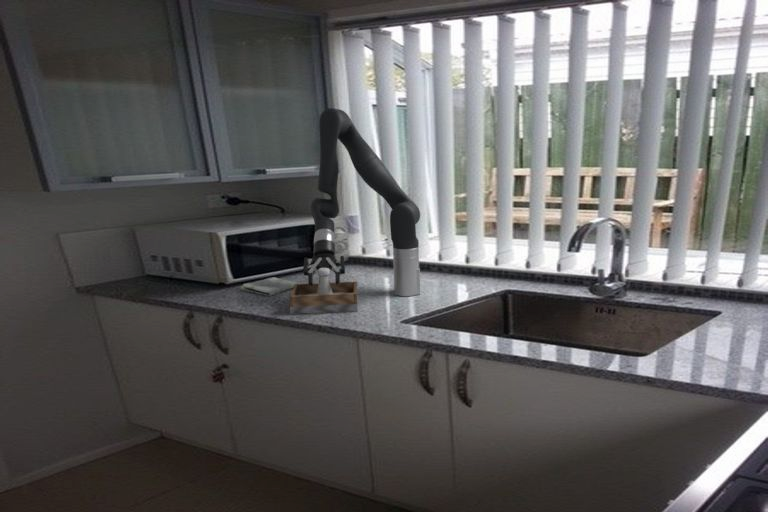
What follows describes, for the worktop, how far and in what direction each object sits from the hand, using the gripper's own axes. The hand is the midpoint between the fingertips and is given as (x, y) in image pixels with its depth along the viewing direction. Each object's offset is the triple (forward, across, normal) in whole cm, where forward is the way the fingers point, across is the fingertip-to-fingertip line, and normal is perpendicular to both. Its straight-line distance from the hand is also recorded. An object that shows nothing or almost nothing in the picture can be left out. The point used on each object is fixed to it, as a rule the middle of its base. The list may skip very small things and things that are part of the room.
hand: (324, 284), depth 177 cm
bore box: (+5, 0, +7) cm, 8 cm away
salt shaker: (+4, 0, +7) cm, 8 cm away
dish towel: (-14, -23, +26) cm, 37 cm away
